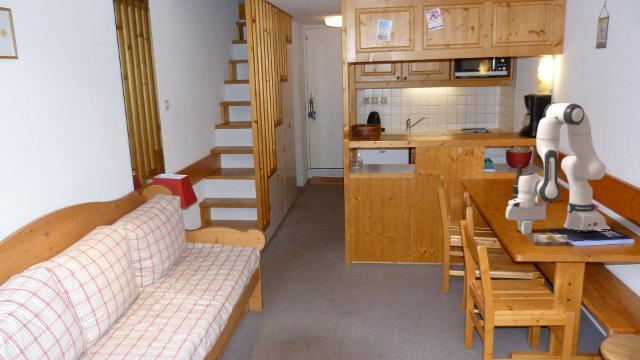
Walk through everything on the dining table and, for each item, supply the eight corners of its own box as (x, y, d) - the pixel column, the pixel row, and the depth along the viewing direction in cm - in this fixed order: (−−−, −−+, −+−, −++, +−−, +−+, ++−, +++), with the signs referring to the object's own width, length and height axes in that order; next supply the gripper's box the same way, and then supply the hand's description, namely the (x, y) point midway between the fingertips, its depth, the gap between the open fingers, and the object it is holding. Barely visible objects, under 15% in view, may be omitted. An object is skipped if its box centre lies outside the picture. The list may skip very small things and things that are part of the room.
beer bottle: (521, 199, 348) (523, 164, 343) (526, 202, 340) (528, 166, 335) (510, 199, 347) (511, 164, 342) (514, 202, 340) (516, 166, 335)
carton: (526, 229, 283) (527, 217, 282) (531, 234, 276) (531, 221, 274) (518, 229, 284) (519, 217, 282) (522, 234, 276) (523, 221, 274)
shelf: (556, 236, 271) (556, 227, 270) (566, 245, 257) (567, 236, 256) (526, 236, 272) (526, 227, 271) (535, 245, 258) (535, 236, 257)
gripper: (544, 200, 278) (543, 225, 281) (505, 201, 280) (504, 225, 283) (548, 203, 272) (547, 229, 275) (508, 204, 274) (507, 229, 277)
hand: (525, 227), depth 279 cm, fingers closed on carton, 4 cm apart
